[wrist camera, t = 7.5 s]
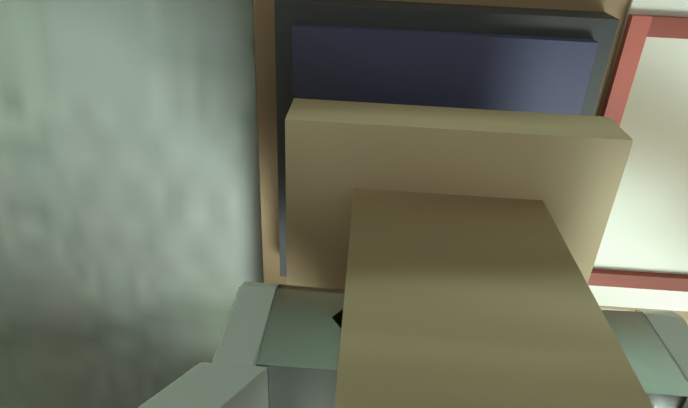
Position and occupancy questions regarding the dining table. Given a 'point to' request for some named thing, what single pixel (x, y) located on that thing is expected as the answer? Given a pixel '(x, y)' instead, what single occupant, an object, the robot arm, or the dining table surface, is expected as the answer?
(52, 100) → the dining table surface
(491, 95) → the station board
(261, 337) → the robot arm
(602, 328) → the stamp
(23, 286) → the dining table surface
